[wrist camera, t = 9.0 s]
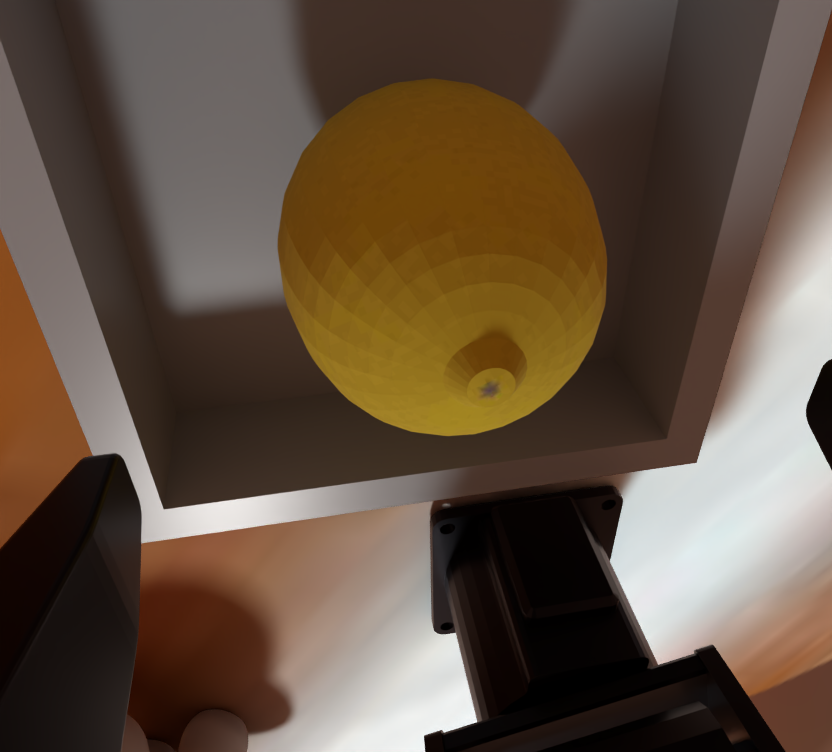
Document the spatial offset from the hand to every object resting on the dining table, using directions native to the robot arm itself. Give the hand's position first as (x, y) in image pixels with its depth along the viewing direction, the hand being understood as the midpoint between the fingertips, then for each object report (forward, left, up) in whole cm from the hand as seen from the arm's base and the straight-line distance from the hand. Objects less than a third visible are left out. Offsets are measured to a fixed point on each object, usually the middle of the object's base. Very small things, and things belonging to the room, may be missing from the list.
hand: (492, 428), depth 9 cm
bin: (0, 0, -9) cm, 9 cm away
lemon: (0, 0, -9) cm, 9 cm away
